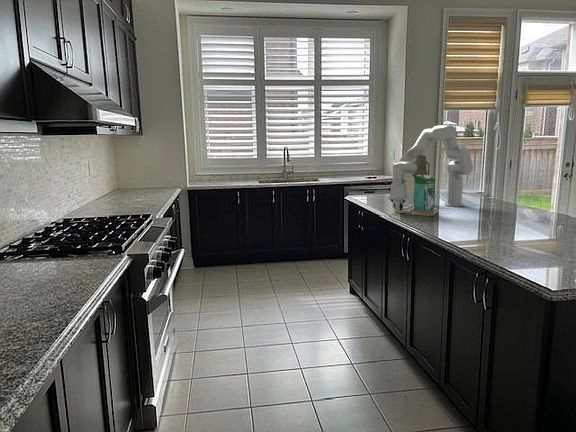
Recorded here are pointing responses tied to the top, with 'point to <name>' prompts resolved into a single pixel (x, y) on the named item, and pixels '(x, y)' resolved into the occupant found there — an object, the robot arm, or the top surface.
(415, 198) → the milk carton
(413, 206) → the cube sled
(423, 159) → the thermos
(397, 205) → the carton sled
